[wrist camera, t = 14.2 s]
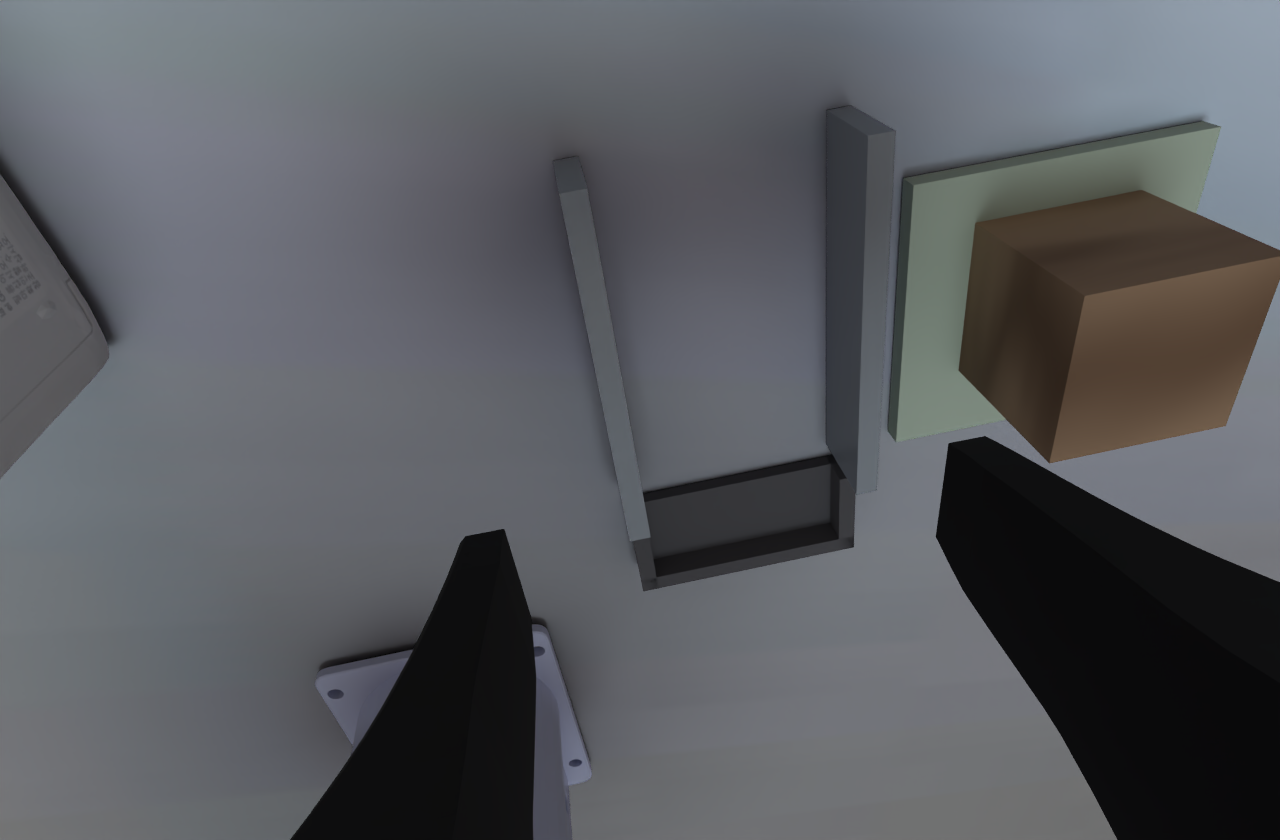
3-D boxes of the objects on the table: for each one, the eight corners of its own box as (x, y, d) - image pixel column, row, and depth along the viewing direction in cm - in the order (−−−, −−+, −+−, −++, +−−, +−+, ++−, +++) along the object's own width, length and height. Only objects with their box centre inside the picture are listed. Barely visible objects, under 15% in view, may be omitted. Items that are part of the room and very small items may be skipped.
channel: (844, 440, 24) (876, 490, 22) (619, 486, 23) (629, 541, 21) (850, 105, 18) (895, 130, 16) (553, 161, 18) (559, 193, 16)
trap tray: (840, 522, 26) (853, 546, 25) (637, 564, 25) (643, 591, 24) (841, 453, 24) (855, 476, 23) (624, 497, 24) (629, 523, 23)
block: (1106, 340, 22) (1225, 426, 19) (958, 370, 22) (1049, 463, 18) (1141, 189, 20) (1289, 254, 16) (975, 223, 19) (1085, 295, 16)
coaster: (1130, 381, 24) (1144, 391, 24) (888, 431, 24) (896, 442, 23) (1203, 121, 19) (1221, 126, 19) (902, 178, 19) (913, 185, 19)
